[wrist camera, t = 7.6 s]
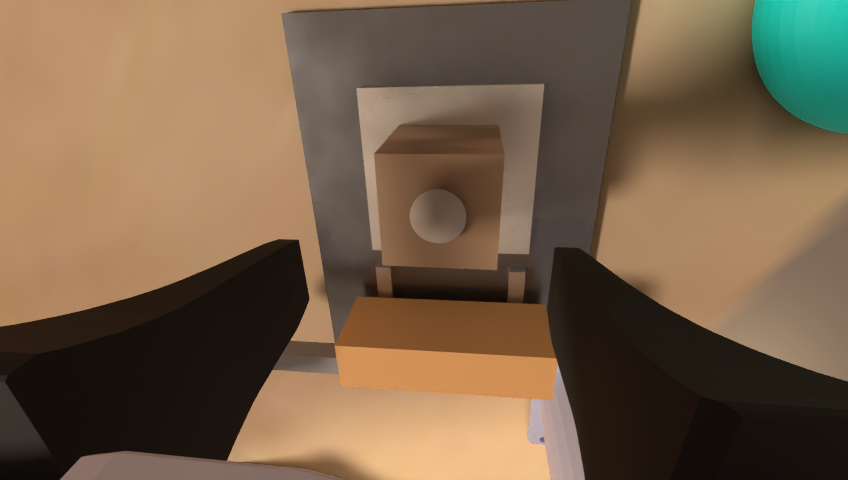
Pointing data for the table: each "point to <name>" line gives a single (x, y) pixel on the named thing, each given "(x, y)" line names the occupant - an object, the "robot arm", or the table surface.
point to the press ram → (437, 348)
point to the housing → (440, 196)
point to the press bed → (457, 105)
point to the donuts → (805, 58)
